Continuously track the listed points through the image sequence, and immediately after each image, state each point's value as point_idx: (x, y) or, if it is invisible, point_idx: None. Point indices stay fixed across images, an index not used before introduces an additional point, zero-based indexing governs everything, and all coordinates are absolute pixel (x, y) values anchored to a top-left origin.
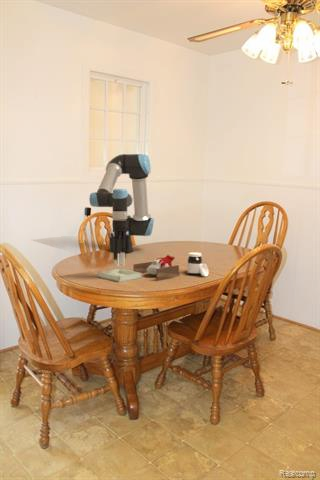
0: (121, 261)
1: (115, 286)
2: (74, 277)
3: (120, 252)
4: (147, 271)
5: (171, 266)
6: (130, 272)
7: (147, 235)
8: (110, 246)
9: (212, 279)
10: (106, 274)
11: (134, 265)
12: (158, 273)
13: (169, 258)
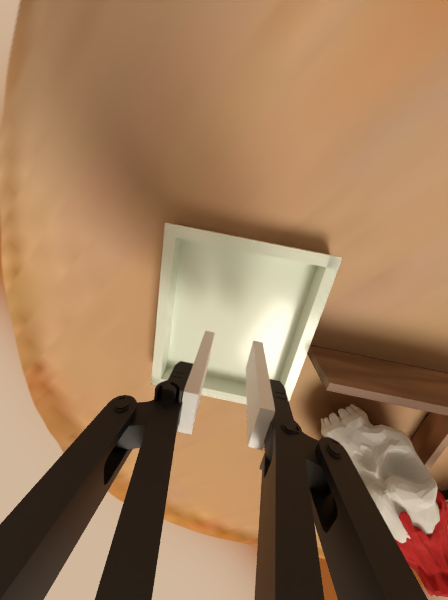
0: (251, 366)
1: (102, 394)
2: (75, 117)
3: (259, 409)
4: (350, 406)
5: None
6: (294, 349)
7: None
8: (60, 466)
9: None
10: (159, 301)
11: (324, 386)
12: None
13: (418, 574)
